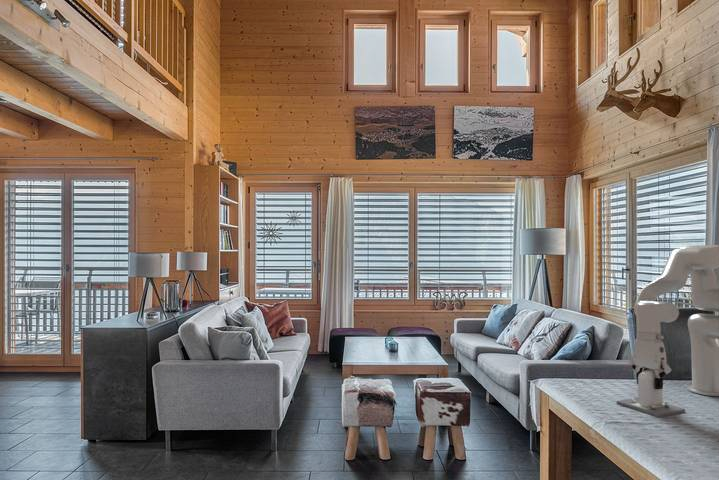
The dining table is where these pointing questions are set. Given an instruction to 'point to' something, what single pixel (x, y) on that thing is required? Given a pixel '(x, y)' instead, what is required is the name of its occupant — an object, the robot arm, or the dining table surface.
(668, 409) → the tray
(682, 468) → the dining table surface
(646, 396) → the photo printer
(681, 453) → the dining table surface
